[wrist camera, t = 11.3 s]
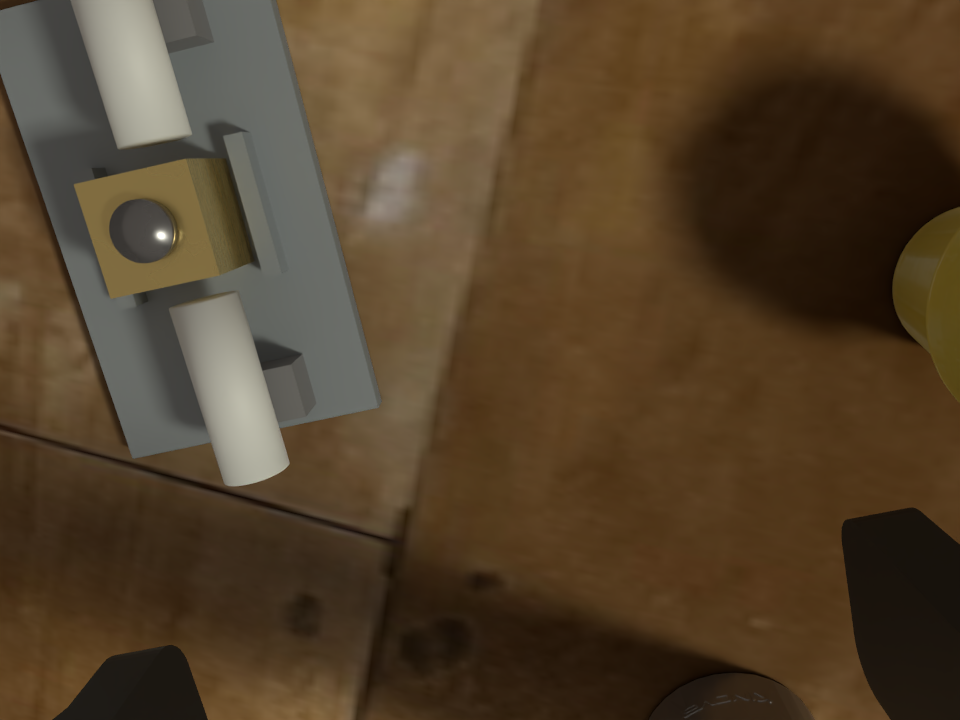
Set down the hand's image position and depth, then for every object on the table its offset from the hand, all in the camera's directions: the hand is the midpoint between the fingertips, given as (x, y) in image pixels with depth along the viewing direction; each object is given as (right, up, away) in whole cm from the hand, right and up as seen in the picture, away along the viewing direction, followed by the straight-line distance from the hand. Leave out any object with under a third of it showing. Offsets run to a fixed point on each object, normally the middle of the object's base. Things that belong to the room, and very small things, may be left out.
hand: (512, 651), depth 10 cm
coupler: (-13, +10, +26) cm, 31 cm away
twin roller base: (-13, +10, +27) cm, 32 cm away
